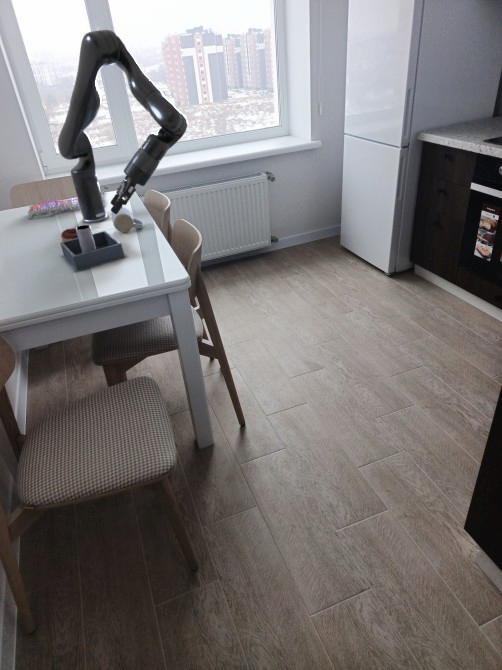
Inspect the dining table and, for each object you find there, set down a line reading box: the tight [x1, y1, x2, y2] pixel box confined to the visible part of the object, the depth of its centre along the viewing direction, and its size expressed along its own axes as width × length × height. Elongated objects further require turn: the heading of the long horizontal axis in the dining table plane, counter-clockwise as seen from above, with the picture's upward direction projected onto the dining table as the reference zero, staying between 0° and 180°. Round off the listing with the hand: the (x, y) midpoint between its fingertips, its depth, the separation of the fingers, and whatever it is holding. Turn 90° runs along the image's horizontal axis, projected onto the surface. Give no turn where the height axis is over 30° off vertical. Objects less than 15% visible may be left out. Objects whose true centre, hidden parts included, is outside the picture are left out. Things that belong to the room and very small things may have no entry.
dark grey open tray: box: [59, 230, 125, 272], centre depth 156 cm, size 17×16×5 cm
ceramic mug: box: [111, 206, 144, 233], centre depth 177 cm, size 11×8×8 cm
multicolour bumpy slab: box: [27, 197, 81, 220], centre depth 207 cm, size 30×15×5 cm, turn 104°
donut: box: [60, 227, 78, 242], centre depth 171 cm, size 10×10×4 cm
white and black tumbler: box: [75, 224, 96, 253], centre depth 154 cm, size 4×4×10 cm
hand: (113, 208), depth 151 cm, fingers open, 8 cm apart
